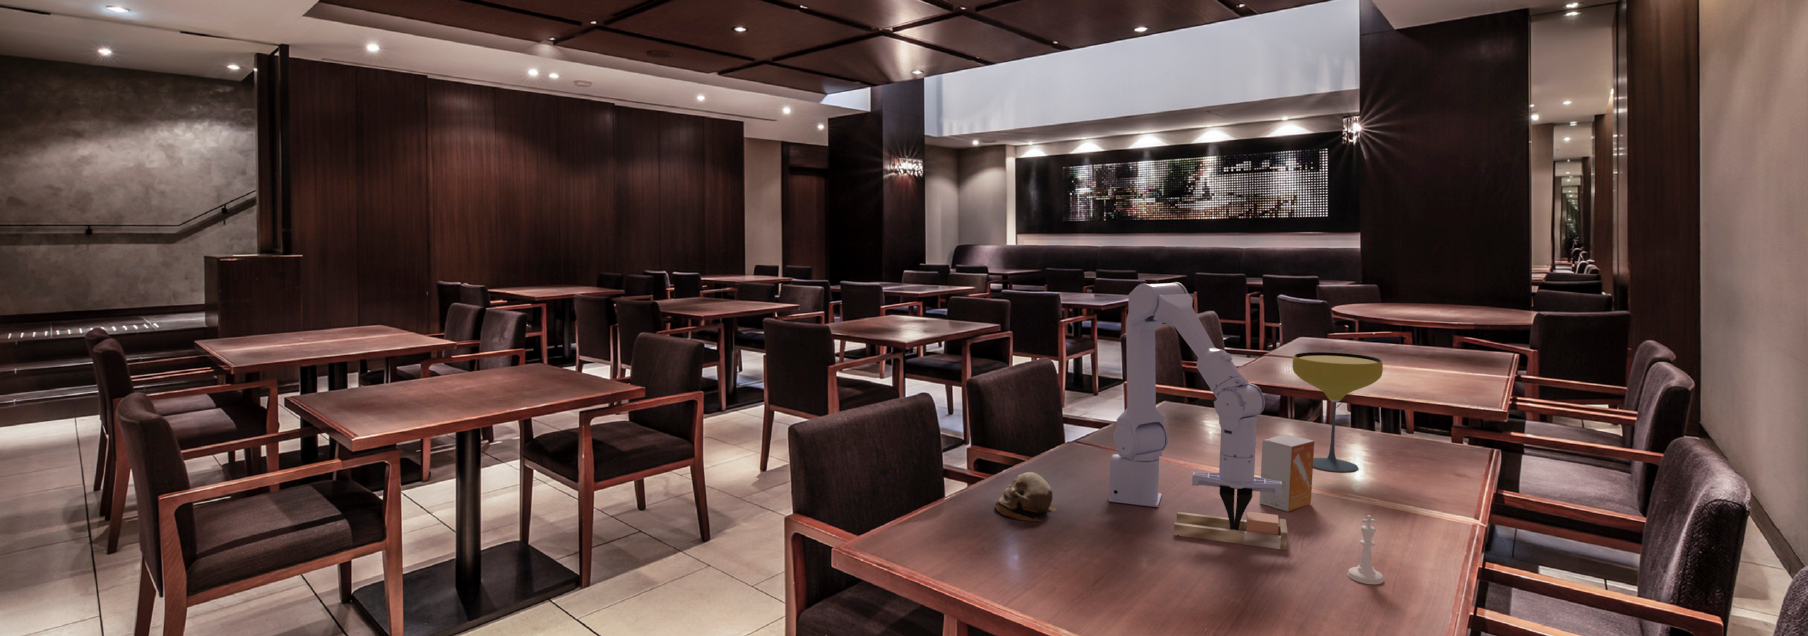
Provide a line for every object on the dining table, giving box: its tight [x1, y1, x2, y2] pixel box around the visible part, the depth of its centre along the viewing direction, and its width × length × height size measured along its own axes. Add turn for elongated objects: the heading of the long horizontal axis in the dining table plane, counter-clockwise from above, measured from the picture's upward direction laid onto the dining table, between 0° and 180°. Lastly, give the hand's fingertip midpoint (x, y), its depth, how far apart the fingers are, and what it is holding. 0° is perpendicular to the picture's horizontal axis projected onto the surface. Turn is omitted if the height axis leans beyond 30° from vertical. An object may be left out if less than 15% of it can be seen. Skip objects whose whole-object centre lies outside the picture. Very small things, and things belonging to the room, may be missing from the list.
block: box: [1246, 510, 1279, 535], centre depth 143 cm, size 5×4×4 cm
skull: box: [994, 471, 1057, 522], centre depth 158 cm, size 12×10×10 cm
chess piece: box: [1347, 514, 1384, 585], centre depth 127 cm, size 5×5×10 cm
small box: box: [1259, 433, 1315, 512], centre depth 161 cm, size 8×6×13 cm
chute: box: [1173, 511, 1289, 551], centre depth 145 cm, size 18×7×3 cm, turn 67°
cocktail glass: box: [1292, 351, 1384, 473], centre depth 186 cm, size 18×18×25 cm
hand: (1234, 528), depth 144 cm, fingers closed
